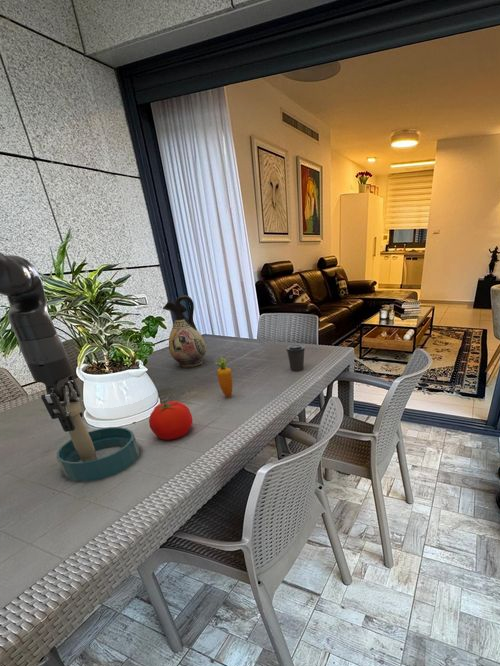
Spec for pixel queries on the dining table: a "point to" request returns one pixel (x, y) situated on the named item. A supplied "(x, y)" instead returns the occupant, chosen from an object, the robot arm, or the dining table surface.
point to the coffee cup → (296, 357)
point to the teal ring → (106, 464)
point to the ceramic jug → (185, 335)
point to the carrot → (225, 378)
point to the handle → (81, 434)
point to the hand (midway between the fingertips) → (74, 423)
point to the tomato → (170, 420)
